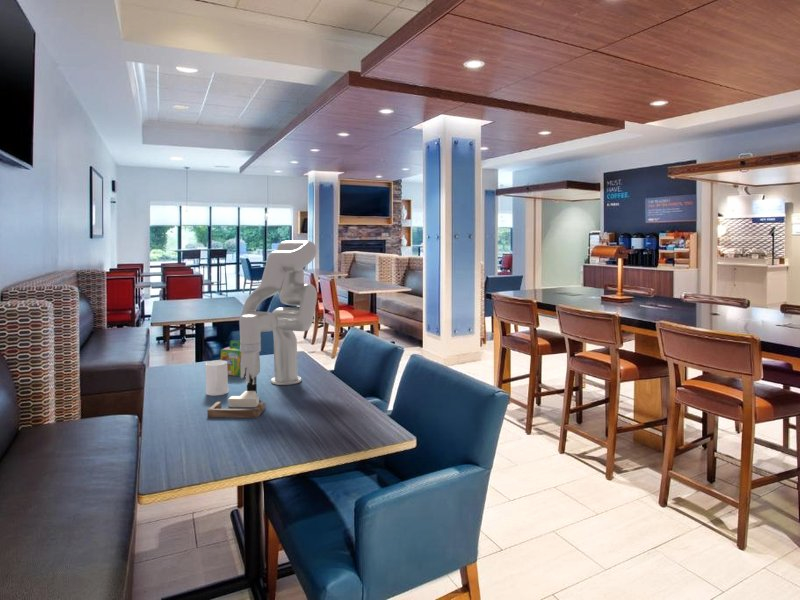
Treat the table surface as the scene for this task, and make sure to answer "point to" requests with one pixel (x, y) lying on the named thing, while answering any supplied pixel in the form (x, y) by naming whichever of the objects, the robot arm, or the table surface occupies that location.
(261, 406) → the brown u-shaped bracket
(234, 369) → the chalk box
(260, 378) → the table surface
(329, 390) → the table surface
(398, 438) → the table surface
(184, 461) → the table surface
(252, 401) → the t block
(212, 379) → the mug
